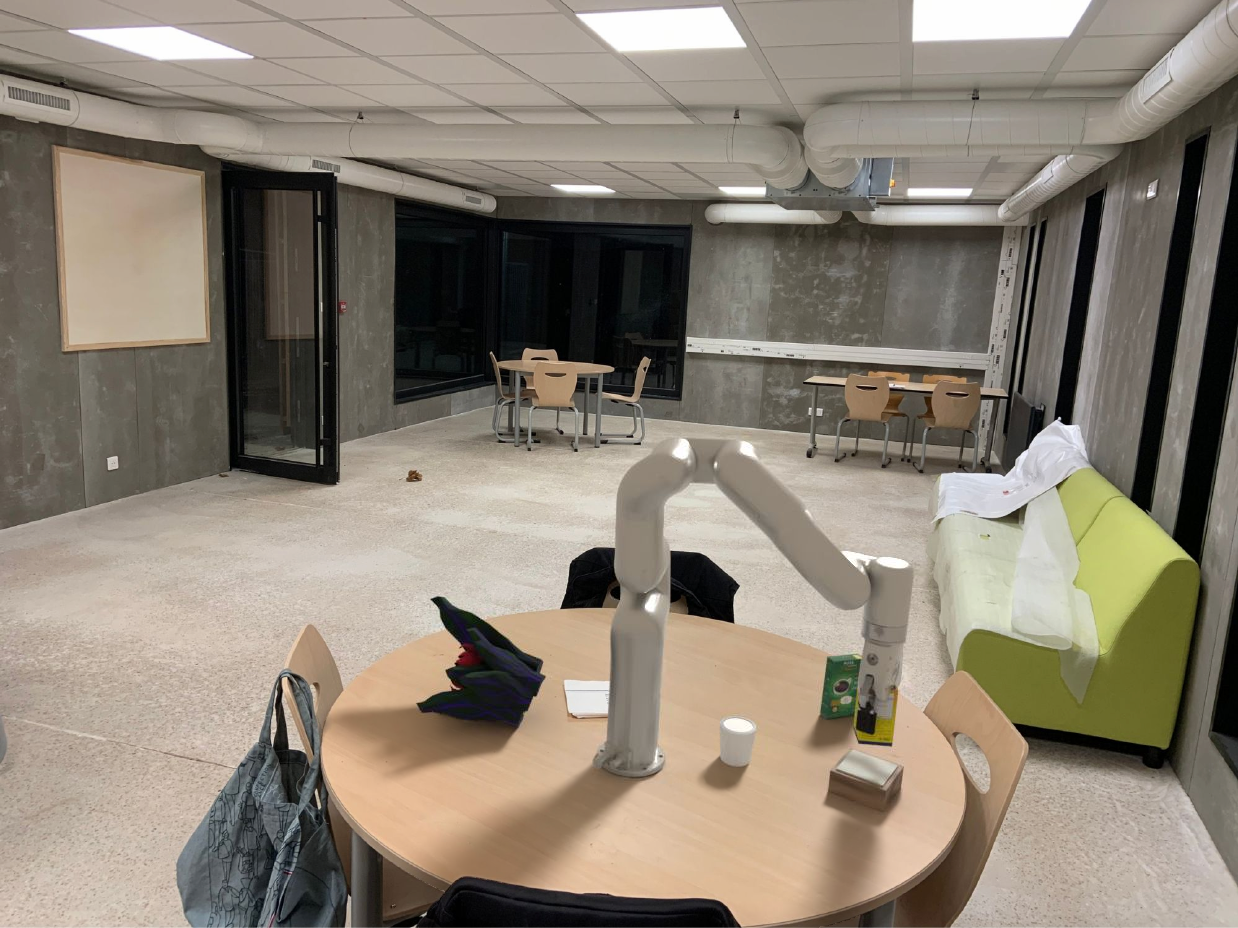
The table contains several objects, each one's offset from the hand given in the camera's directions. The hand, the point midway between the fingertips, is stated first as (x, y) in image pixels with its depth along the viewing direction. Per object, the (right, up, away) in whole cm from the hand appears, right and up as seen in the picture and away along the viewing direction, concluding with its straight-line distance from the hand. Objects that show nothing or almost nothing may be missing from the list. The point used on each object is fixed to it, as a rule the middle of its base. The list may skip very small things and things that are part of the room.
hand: (873, 721), depth 156 cm
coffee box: (+1, -7, +30) cm, 31 cm away
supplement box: (0, -3, +1) cm, 3 cm away
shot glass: (-23, -10, +10) cm, 27 cm away
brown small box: (-1, -13, +3) cm, 13 cm away
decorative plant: (-75, -5, +23) cm, 78 cm away
